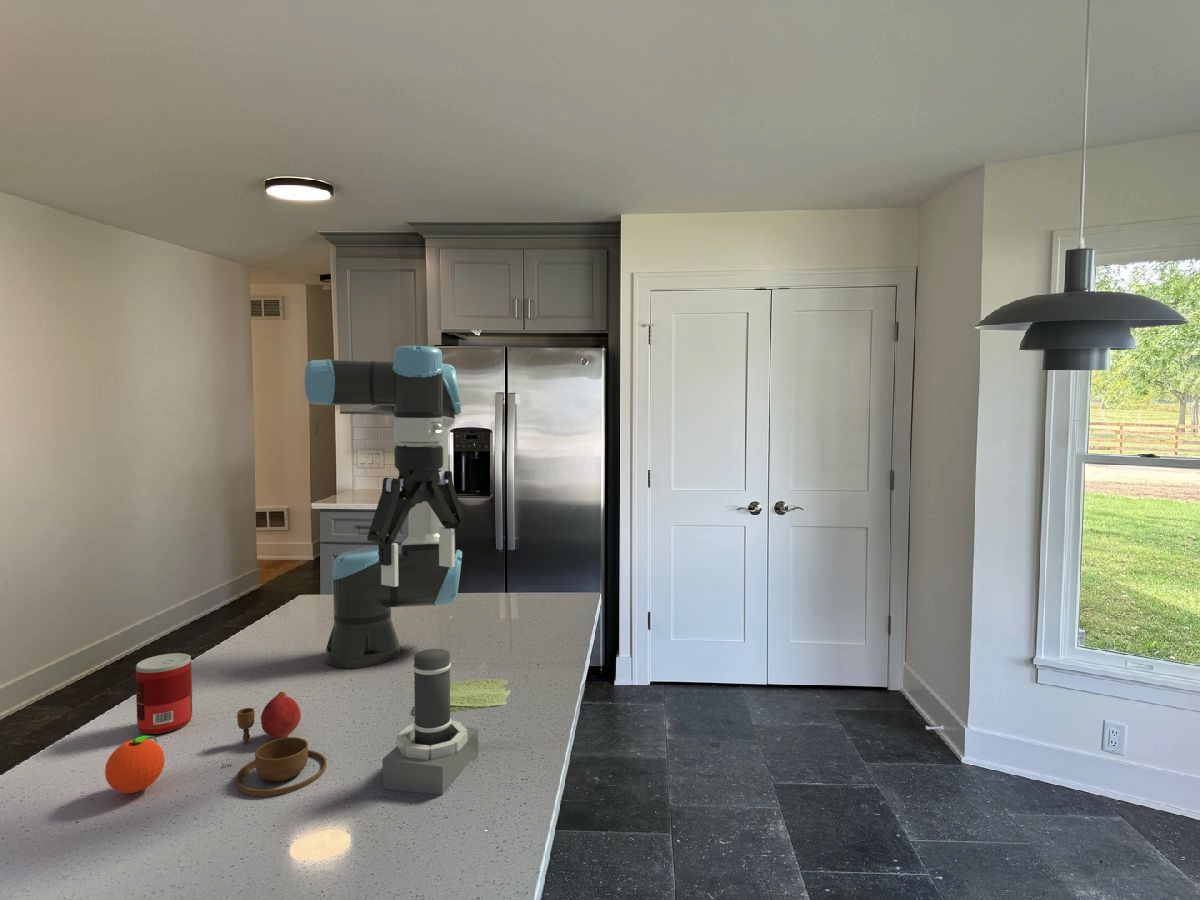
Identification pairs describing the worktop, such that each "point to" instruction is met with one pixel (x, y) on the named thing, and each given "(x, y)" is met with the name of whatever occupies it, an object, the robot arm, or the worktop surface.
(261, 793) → the place setting
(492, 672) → the worktop surface
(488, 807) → the worktop surface
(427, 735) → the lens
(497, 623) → the worktop surface
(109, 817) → the worktop surface
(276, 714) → the onion
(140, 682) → the canned food
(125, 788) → the clementine
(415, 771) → the block with octagonal ring
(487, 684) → the washcloth
